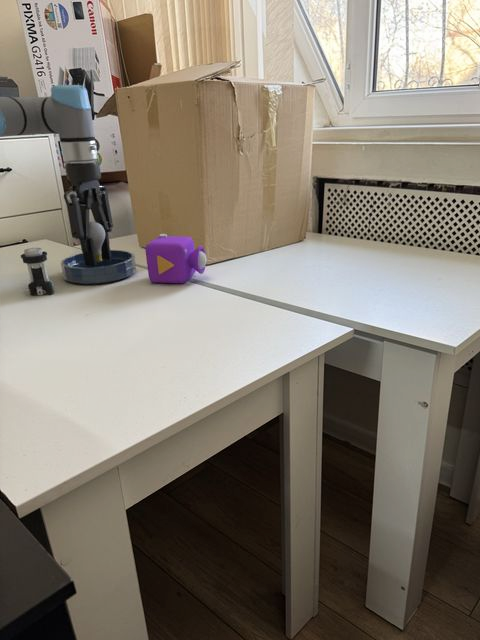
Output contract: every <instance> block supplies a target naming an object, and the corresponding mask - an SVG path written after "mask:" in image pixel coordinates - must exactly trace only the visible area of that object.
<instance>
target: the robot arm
mask: <svg viewBox="0 0 480 640" xmlns="http://www.w3.org/2000/svg"><path fill="white" fill-rule="evenodd" d="M50 93H51V94H50V96H36V97H35V96H33V97H31V96H29V97H27V96H0V138H4V137H21V136H36V135H53V134H56V135H58V137H59V141H60V148H61V153H62V154H61V155H62V159H63V161H64V162H66V163H65V165H64V170H65V175H66V179H67V180H68V181H69V182H70V183H71V188H70V189H71V191H70V192H69V193H64V194H63V199H64V201H65V204H66V208H67V213H68V214H67V215H68V220H69V221H68V222H69V225H70V226H69V227H70V232H71V237H72V238H73V239H76V240H79V242H80V243H79V244H80V248H81V253H83V255H84V260H85V265H87V266H96V265H97V264H96V258H95V252H94V246H93V241H92V238H89V222H90V211H91V214H92V217H93V220H94V222H96V223H99V224H100V225H102V227H103V228H104V230H105V239H104V242H103V244H102V247H101V252H102V254H101V255H102V257H101V258H102V259H109V260H110V259H112V258H111V252H110V250H111V247H110V243H111V241H110V237H109V233H112V230H113V229H112V228H114V224H113V222H114V221H113V218H112V212H111V206H110V200H109V187H108V186H102V185H100V182H99V180H100V179H101V178H102V172H101V167H100V163H99V162H98V161H97V160H98V159H99V154H98V150H97V149H98V148H97V142H96V137H95V132H94V131H95V130H94V123H93V116H92V106H91V104H90V98H89V94H88V90H87V88H86V87H85V86H84V85H81V84H58V85H52V86H51V88H50Z"/></svg>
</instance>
